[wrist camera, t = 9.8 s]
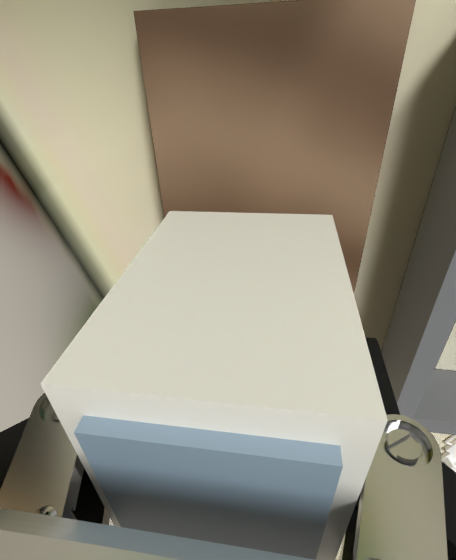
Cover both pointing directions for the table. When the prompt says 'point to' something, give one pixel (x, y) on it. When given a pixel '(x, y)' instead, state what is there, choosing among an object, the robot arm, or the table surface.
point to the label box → (227, 386)
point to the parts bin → (428, 308)
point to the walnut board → (274, 106)
